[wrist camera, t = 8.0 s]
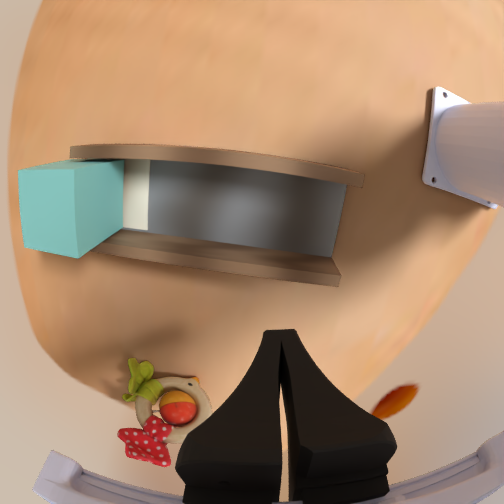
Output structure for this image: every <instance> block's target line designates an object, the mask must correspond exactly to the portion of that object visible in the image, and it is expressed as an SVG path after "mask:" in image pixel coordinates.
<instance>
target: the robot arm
mask: <svg viewBox="0 0 504 504" xmlns="http://www.w3.org/2000/svg"><path fill="white" fill-rule="evenodd" d="M443 93H444V95H445V98H444V97H443ZM433 177H434V182H433V183H432V178H433ZM422 180H423V182H424V183H425V184H427V185H430V186H433V187H436V188H439V189H442V190H445V191H448V192H451V193H454V194H456V195H459V196H462V197H465V198H467V199H470V200H473V201H475V202H478V203H480V204H483V205H485V206H488V207H490V208H493V209H496V208H497V206H498V205H499V206H502V207H504V102H484V103H469V102H468V101H466V100H464V99H462V98H460V97H459V96H457V95H455V94H453V93H451V92H449V91H447V90H445V89H443V88H441V87H434V89H433V97H432V110H431V120H430V129H429V137H428V144H427V151H426V158H425V164H424V169H423V175H422ZM487 201H488V202H487ZM280 384H281V388H282V395H283V401H284V408H285V414H286V421H287V432H288V468H289V502H279V495H280V486H281V475H282V442H281V426H280V408H279V398H280ZM396 449H397V444H396V441H395V438H394V435H393V433H392V432H391V430H390V428H389V426H388V424H387V423H386V422H384V421H382V420H380V419H379V418H377V417H375V416H373V415H371V414H369V413H368V412H366V411H365V410H363V409H362V408H360V407H359V406H358V405H356V404H355V403H354V402H353V401H351V400H350V399H349V398H348V397H346V396H345V395H344V394H343V393H342V392H341V391H339V390H338V389H337V388H336V387H335V386H334V385H333V384H332V383H331V382H330V381H329V380H328V378H327V377H326V376H325V375H324V374H323V373H322V371H321V370H320V369H319V368H318V366H317V365H316V364H315V362H314V361H313V359H312V358H311V357H310V355H309V354H308V352H307V351H306V349H305V347H304V346H303V344H302V342H301V340H300V338H299V336H298V334H297V331H296V330H295V329H284V330H266V331H264V333H263V338H262V341H261V344H260V347H259V349H258V352H257V354H256V356H255V358H254V360H253V362H252V364H251V366H250V368H249V369H248V371H247V373H246V375H245V376H244V378H243V379H242V381H241V382H240V384H239V385H238V386H237V388H236V389H235V390H234V392H233V393H232V394H231V395H230V396H229V397H228V399H227V400H226V401H225V402H224V403H223V404H222V405H221V406H220V407H219V408H218V409H217V410H216V411H215V412H214V413H213V414H212V415H211V416H210V417H209V418H207V419H206V420H205V421H204V422H202V423H201V424H200V425H198V426H197V427H196V428H194V429H193V430H192V431H190V432H189V433H188V434H187V436H186V437H185V439H184V441H183V443H182V446H181V448H180V450H179V454H178V457H177V461H176V466H175V469H176V472H177V473H178V475H179V476H180V477H181V479H182V480H183V481H184V483H185V484H186V485H185V491H184V495H183V496H179V495H173V494H168V493H163V492H158V491H153V490H150V489H145V488H141V487H137V486H134V485H130V484H126V483H123V482H120V481H117V480H113V479H110V478H107V477H104V476H101V475H99V474H96V473H93V472H90V471H88V470H85V469H83V468H82V466H81V465H80V464H79V463H77V462H76V461H75V460H73V459H71V458H69V457H67V456H65V455H62V454H60V453H58V452H56V451H54V450H51V452H50V454H49V456H48V458H47V460H46V462H45V464H44V466H43V468H42V470H41V472H40V474H39V476H38V478H37V480H36V482H35V485H34V487H33V489H32V490H33V492H35V493H36V494H38V495H39V496H41V497H42V498H43V499H45V500H46V501H48V502H49V503H51V504H476V503H478V502H480V501H481V500H483V499H485V498H486V497H488V496H490V495H491V494H493V493H494V492H495V491H497V490H498V489H499V488H501V487H502V486H503V485H504V431H502V432H501V433H499V434H497V435H495V436H494V437H492V438H490V439H488V440H487V441H486V442H484V443H483V444H482V445H481V446H480V447H479V448H478V450H477V451H476V452H474V453H472V454H470V455H468V456H466V457H464V458H462V459H460V460H458V461H455V462H453V463H451V464H448V465H446V466H444V467H441V468H439V469H436V470H434V471H431V472H429V473H426V474H423V475H420V476H417V477H414V478H411V479H408V480H405V481H403V482H399V483H395V484H392V485H388V480H387V476H386V475H387V474H388V468H387V463H388V461H389V460H390V459H391V457H392V456H393V455H394V453H395V451H396Z"/></svg>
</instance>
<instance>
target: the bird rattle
mask: <svg viewBox="0 0 504 504" xmlns="http://www.w3.org/2000/svg"><path fill="white" fill-rule="evenodd" d="M128 366H129V369H130V373H131V378H130V380H129V385H128V391H129V393H130V394H123V396H122V398H123V400H125V401H127V402H130V401H136V402H135V409H136V415H137V419H138V421H139V423H140V425H141V426H142V428H143V430H142V429H137V428H123V429H120V430H119V431H118V434H117V435H118V437H119V438H120V439H121V440H122V441H123V442H125V443H126V447H125V453H126V456H127V457H129V458H134V459H137V460H142V461H147V462H151V463H152V464H155V465H159V466H162V467H167V466H170V464H171V459H170V455H169V452H168V448H167V446H166V445H167V444H168V443H171V444H181V443H183V441H184V439H185V437H186V436H187V434H188V433H189V432H190V431H192V430H193V429H194V428H196V427H197V426H198V425H200V424H201V423H202V422H204V421H205V420H206V419H207V418H209V417H210V416H211V415H212V406H211V403H210V400H209V398H208V396H207V394H206V393H205V391H204V390H203V389H202V388H201V387H200V385H199V380H198V378H197V377H191V378H181V377H163V378H158V379H151V377H152V376H153V372H154V368H153V365H152V364H151V363H150V362H148V361H143V362H141V363H140V364H139V363H138V362H137V360H136V358H130V359H128ZM167 392H168V393H167ZM164 393H166V394H165V395H164V396H163V397H162V399H161V400H160V404H159V409H160V410H152V405H155V404H156V402H157V400H158V398H159V397H161V396H162V395H163V394H164ZM131 394H133V395H131ZM153 412H160V414H161V416H162V418H163V420H164V421H165V422H166V423H164V421H163V420H162V419H161V418H158V417H157V416H155V415H153ZM167 423H168V424H167Z"/></svg>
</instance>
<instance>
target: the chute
mask: <svg viewBox="0 0 504 504" xmlns="http://www.w3.org/2000/svg"><path fill="white" fill-rule="evenodd" d="M70 158H87V159H119V160H124V180H123V228H121V229H120V230H118V231H117V232H115V233H114V234H112V235H111V236H110V237H108V238H107V239H105V240H104V241H102V242H101V243H99V244H98V245H97V246H95V247H94V248H92V249H91V250H90V251H92V252H98V253H103V254H109V255H115V256H121V257H127V258H133V259H139V260H146V261H152V262H158V263H165V264H171V265H178V266H184V267H191V268H198V269H205V270H211V271H218V272H226V273H233V274H240V275H247V276H255V277H262V278H270V279H277V280H285V281H293V282H301V283H309V284H318V285H326V286H335V287H338V286H339V282H340V279H341V274H340V272H339V271H338V269H337V267H336V265H335V263H334V261H333V260H332V258H331V257H332V252H333V248H334V244H335V240H336V236H337V231H338V227H339V222H340V217H341V213H342V208H343V203H344V198H345V193H346V188H347V185H351V186H355V187H360V188H362V187H363V182H364V176H365V175H364V174H361V173H358V172H355V171H352V170H349V169H345V168H340V167H335V166H331V165H326V164H320V163H315V162H310V161H304V160H298V159H292V158H286V157H280V156H273V155H266V154H259V153H251V152H243V151H235V150H225V149H215V148H204V147H191V146H175V145H153V144H93V145H81V146H71V147H70Z"/></svg>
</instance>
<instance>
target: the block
mask: <svg viewBox="0 0 504 504" xmlns="http://www.w3.org/2000/svg"><path fill="white" fill-rule="evenodd" d="M123 180H124V160H119V159H71V160H65V161H59V162H54V163H49V164H44V165H39V166H35V167H30V168H26V169H22V170H18V184H19V204H20V216H21V225H22V234H23V241H24V247H25V248H30V249H35V250H39V251H44V252H49V253H53V254H58V255H63V256H68V257H73V258H78V259H79V258H80V257H81V256H83V255H84V254H86V253H87V252H88V251H90V250H91V249H92V248H94V247H95V246H97V245H98V244H99V243H101V242H102V241H104V240H105V239H107V238H108V237H110V236H111V235H112V234H114V233H115V232H117V231H118V230H120V229H121V228H123Z"/></svg>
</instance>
